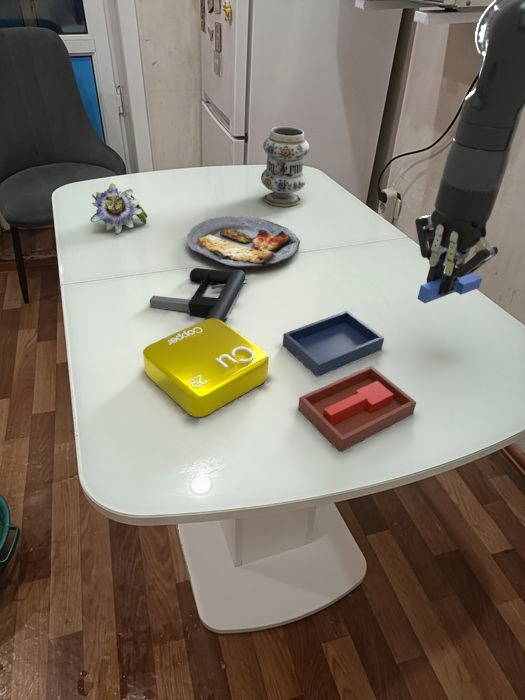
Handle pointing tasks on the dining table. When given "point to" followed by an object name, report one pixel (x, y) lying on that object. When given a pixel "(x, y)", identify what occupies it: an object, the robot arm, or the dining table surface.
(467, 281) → the blue stepped block
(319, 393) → the rust tray
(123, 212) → the passion flower
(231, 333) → the element tile
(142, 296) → the dining table surface
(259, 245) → the food plate
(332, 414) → the red stepped block
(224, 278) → the door handle
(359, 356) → the navy tray
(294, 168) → the apothecary jar
